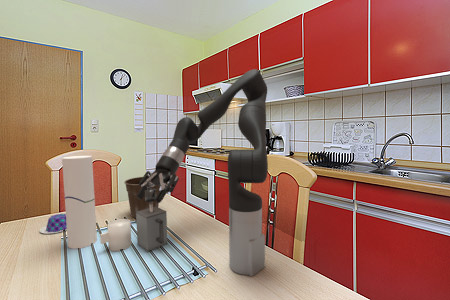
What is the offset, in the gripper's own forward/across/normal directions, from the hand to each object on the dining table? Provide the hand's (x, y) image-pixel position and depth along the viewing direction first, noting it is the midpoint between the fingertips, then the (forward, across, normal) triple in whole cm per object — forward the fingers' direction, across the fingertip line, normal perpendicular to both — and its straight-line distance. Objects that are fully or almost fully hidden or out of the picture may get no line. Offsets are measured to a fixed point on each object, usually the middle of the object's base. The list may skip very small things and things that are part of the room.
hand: (147, 199), depth 76 cm
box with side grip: (+11, -1, -12) cm, 16 cm away
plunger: (+8, 0, -10) cm, 13 cm away
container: (+18, +22, -5) cm, 29 cm away
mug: (+15, +9, -7) cm, 19 cm away
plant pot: (-3, +25, -26) cm, 36 cm away
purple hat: (+16, +44, -7) cm, 47 cm away
